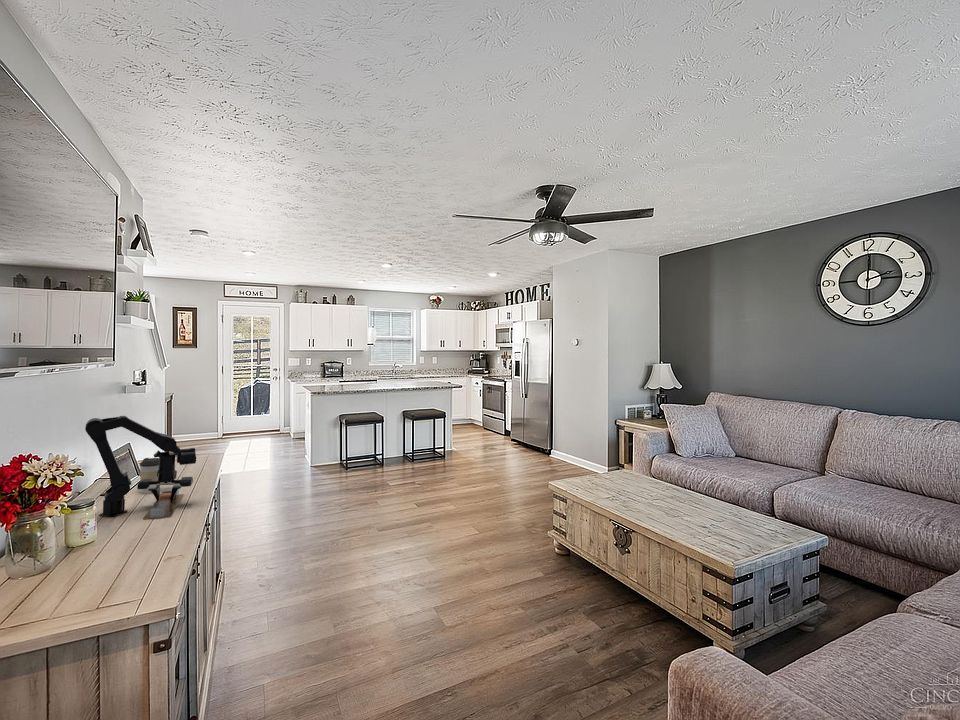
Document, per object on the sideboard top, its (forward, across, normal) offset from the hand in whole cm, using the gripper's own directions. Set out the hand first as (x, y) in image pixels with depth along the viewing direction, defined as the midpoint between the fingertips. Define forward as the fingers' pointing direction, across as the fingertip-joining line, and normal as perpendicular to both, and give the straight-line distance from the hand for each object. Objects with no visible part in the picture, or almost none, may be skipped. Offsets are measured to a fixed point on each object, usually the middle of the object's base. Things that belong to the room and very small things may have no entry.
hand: (165, 502), depth 191 cm
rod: (+1, 0, +2) cm, 2 cm away
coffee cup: (+2, +10, -24) cm, 26 cm away
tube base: (+1, 0, 0) cm, 1 cm away
